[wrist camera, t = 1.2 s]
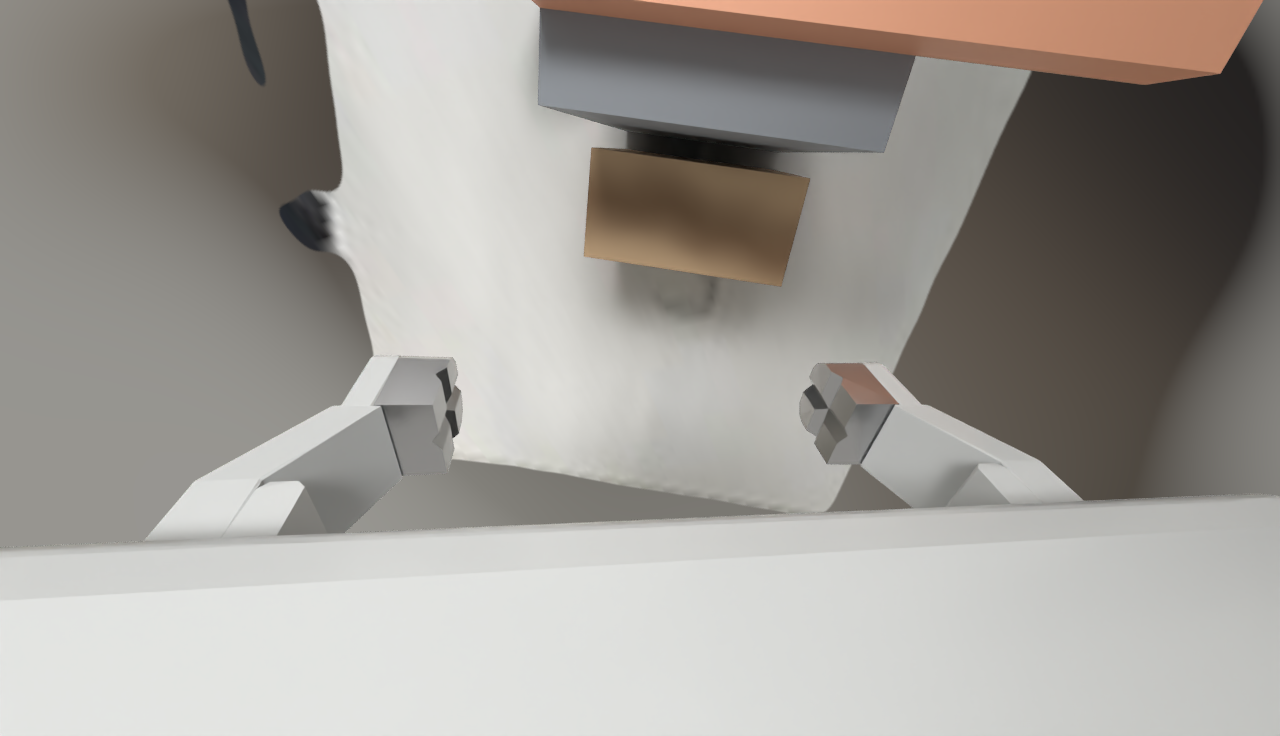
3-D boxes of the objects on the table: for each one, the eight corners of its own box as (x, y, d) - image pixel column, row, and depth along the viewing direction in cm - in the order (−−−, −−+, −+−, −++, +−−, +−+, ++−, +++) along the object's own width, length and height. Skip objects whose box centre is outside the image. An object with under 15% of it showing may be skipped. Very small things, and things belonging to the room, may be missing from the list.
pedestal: (638, 10, 38) (545, -216, 15) (806, 31, 37) (990, -170, 14) (626, 131, 42) (537, 104, 18) (778, 152, 41) (883, 152, 18)
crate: (624, 148, 42) (591, 147, 29) (773, 170, 42) (810, 178, 28) (617, 225, 46) (583, 256, 32) (755, 246, 45) (781, 286, 31)
